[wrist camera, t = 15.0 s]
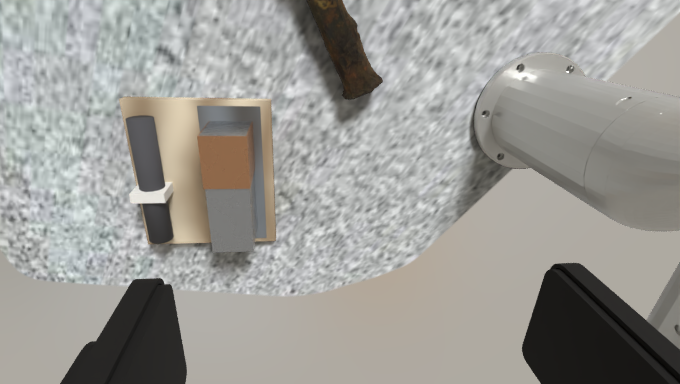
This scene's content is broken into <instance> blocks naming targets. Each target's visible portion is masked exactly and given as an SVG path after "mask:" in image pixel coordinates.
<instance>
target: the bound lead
mask: <svg viewBox="0 0 680 384" xmlns="http://www.w3.org/2000/svg"><path fill="white" fill-rule="evenodd" d="M125 120H126V125H127V130H128V135H129V140H130V145H131V150H132V155H133V160H134V165H135V170H136V175H137V180H138V185H137V186H136V187H135V188H134V189H133V191H132V192H131V193H130V194H129V196H130V201H131V204H133V203H142V206H143V211H144V216H145V221H146V226H147V231H148V236H149V241H150V242H151V243H153V244H162V243H166V242H169V241H170V240H172V239H173V237H174V235H173V229H172V223H171V217H170V211H169V205H168V198H169V197H170V196H171V194H172V193H173V191H174V190H173V183H172V182H165V180H164V174H163V168H162V162H161V156H160V150H159V144H158V138H157V132H156V126H155V120H154V117H153V116H148V115H139V116H132V117H128V118H126V119H125Z"/></svg>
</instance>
